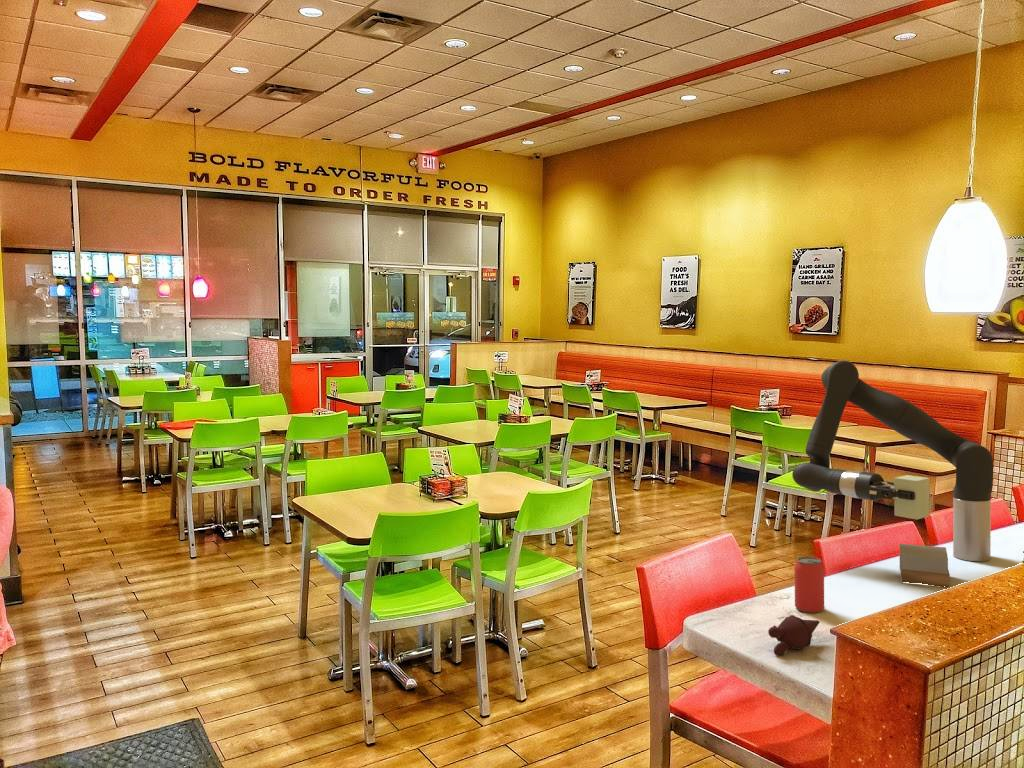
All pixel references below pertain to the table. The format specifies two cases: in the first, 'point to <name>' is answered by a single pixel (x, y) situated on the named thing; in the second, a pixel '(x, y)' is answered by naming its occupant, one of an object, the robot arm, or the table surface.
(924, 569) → the tower top block
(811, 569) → the beer can
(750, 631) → the table surface
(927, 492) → the sage block
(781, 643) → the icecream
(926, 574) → the tower base block
